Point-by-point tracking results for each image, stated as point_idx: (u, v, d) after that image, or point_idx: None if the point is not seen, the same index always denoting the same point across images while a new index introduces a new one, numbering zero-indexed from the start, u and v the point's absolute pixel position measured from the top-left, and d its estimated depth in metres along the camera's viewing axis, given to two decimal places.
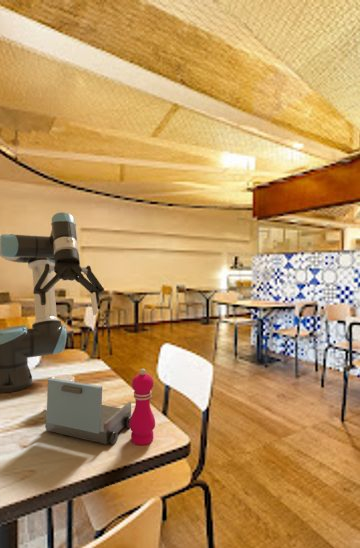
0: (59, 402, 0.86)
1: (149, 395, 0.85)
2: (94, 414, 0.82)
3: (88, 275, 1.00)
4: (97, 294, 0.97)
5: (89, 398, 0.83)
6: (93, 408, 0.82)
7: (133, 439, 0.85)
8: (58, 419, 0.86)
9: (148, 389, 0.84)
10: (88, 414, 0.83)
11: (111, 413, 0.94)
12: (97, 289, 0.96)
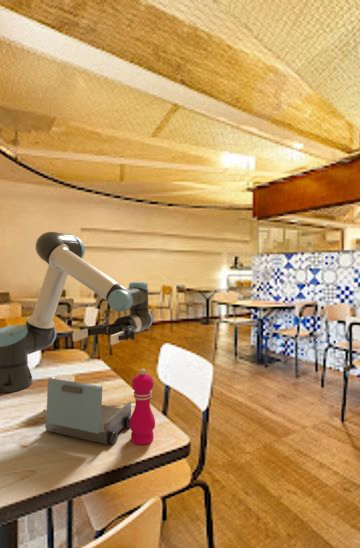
0: (59, 402, 0.86)
1: (149, 395, 0.85)
2: (94, 414, 0.82)
3: None
4: None
5: (89, 398, 0.83)
6: (93, 408, 0.82)
7: (133, 439, 0.85)
8: (58, 419, 0.86)
9: (148, 389, 0.84)
10: (88, 414, 0.83)
11: (111, 413, 0.94)
12: None
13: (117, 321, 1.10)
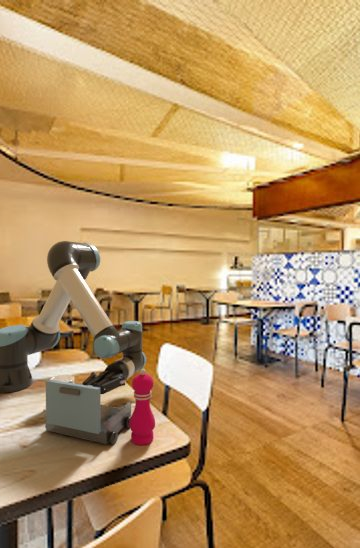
0: (58, 403, 0.85)
1: (149, 395, 0.85)
2: (93, 415, 0.82)
3: (93, 379, 1.00)
4: None
5: (88, 400, 0.82)
6: (92, 409, 0.82)
7: (133, 439, 0.85)
8: (58, 419, 0.86)
9: (148, 389, 0.84)
10: (87, 415, 0.82)
11: (111, 413, 0.94)
12: None
13: (109, 367, 1.04)
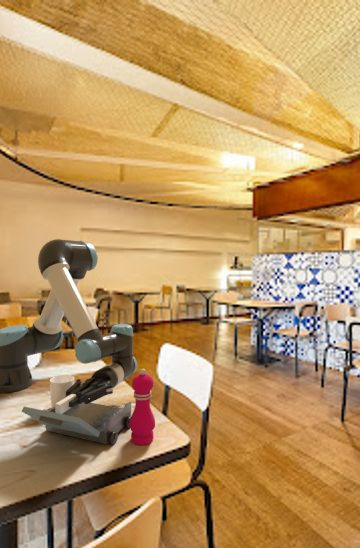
0: None
1: (149, 395, 0.85)
2: (86, 431, 0.79)
3: (79, 387, 0.93)
4: None
5: (73, 425, 0.77)
6: (82, 428, 0.78)
7: (133, 439, 0.85)
8: (55, 426, 0.85)
9: (148, 389, 0.84)
10: (80, 430, 0.80)
11: (111, 413, 0.94)
12: None
13: (96, 374, 0.98)
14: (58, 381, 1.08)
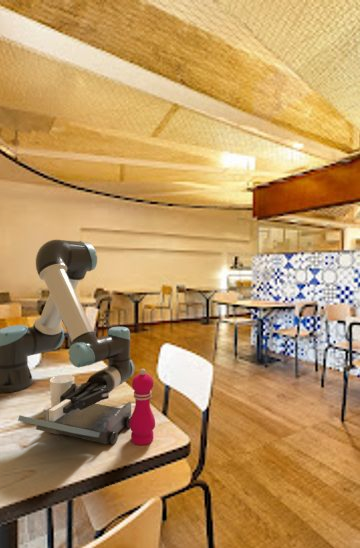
0: None
1: (149, 395, 0.85)
2: None
3: (74, 392, 0.91)
4: None
5: None
6: None
7: (133, 439, 0.85)
8: None
9: (148, 389, 0.84)
10: None
11: (111, 413, 0.94)
12: None
13: (92, 378, 0.96)
14: (58, 381, 1.08)
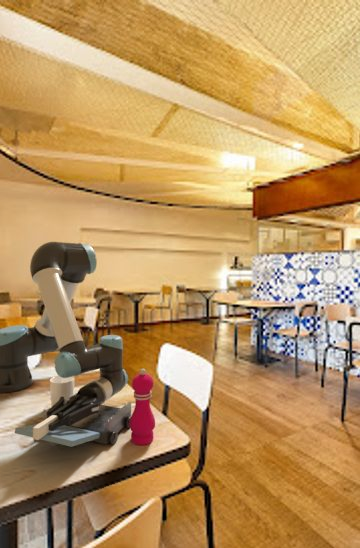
0: None
1: (149, 395, 0.85)
2: None
3: (62, 405, 0.86)
4: None
5: None
6: None
7: (133, 439, 0.85)
8: None
9: (148, 389, 0.84)
10: None
11: (111, 413, 0.94)
12: None
13: (81, 391, 0.91)
14: (58, 381, 1.08)
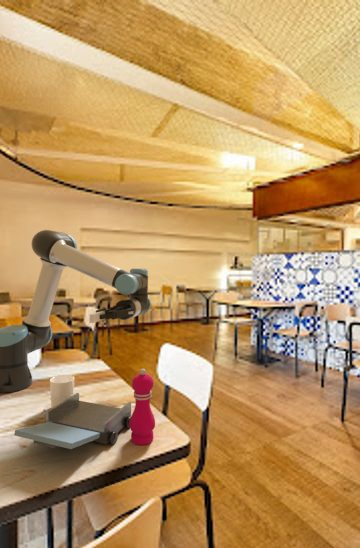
0: None
1: (149, 395, 0.85)
2: None
3: None
4: None
5: None
6: None
7: (133, 439, 0.85)
8: None
9: (148, 389, 0.84)
10: None
11: (111, 413, 0.94)
12: None
13: (118, 304, 1.17)
14: (58, 381, 1.08)
